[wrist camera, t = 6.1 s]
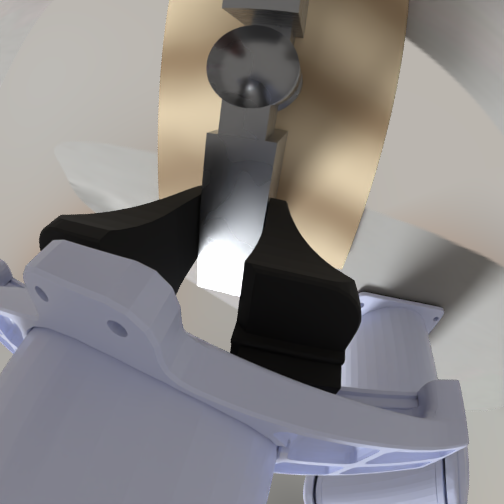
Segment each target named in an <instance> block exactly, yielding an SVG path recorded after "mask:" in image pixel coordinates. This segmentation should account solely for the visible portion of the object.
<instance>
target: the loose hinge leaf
mask: <svg viewBox="0 0 504 504" xmlns="http://www.w3.org/2000/svg"><path fill="white" fill-rule="evenodd" d="M206 71H207V77H208V80H209V83H210V85H211V87H212V89H213V90H214V91H215V93H216V94H217V95H218V96H219V97H220V98H222V103H221V111H220V120H219V128H218V130H214V131H211V132H208V133H207V134H206V144H205V155H204V166H203V179H202V192H201V207H200V225H199V246H198V275H197V286H200V287H204V288H208V289H212V290H216V291H220V292H224V293H228V294H232V295H236V296H240V292H241V285H242V277H243V269H244V262H245V260H246V259H247V258H248V256H249V255H250V254H251V252H252V251H253V249H254V248H255V246H256V244H257V243H258V241H259V238H260V236H261V234H262V232H263V230H264V227H265V223H266V217H267V211H268V205H269V201H270V199H271V198H275V199H276V196H277V191H278V185H279V180H280V174H281V169H282V163H283V157H284V152H285V146H286V140H287V135H288V131H286V130H281V129H275V124H276V118H277V112H278V106H279V105H281V104H283V103H285V102H286V101H287V100H289V99H290V98H291V97H292V96H293V95H294V94H295V92H296V91H297V89H298V87H299V85H300V81H301V68H300V63H299V58H298V54H297V52H296V49H295V48H294V46H293V44H292V43H291V42H290V40H289V39H288V38H287V37H286V36H284V35H283V34H282V33H280V32H278V31H277V30H275V29H272V28H269V27H266V26H260V25H248V26H242V27H239V28H236V29H233V30H231V31H229V32H227V33H226V34H224V35H223V36H222V37H221V38H220V39H219V40H218V41H217V42H216V43H215V44H214V46H213V47H212V49H211V51H210V53H209V55H208V59H207V65H206Z"/></svg>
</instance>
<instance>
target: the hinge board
mask: <svg viewBox="0 0 504 504" xmlns="http://www.w3.org/2000/svg"><path fill="white" fill-rule="evenodd" d="M222 3H223V0H169V5H168V11H167V18H166V26H165V34H164V42H163V52H162V62H161V75H160V90H159V114H158V185H159V200H160V199H163V198H166V197H168V196H171V195H174V194H177V193H179V192H182V191H185V190H188V189H190V188H193V187H196V186H200V185H202V179H203V166H204V155H205V144H206V134H207V133H208V132H211V131H214V130H218V128H219V120H220V111H221V103H222V98H220V97H219V96H218V95H217V94H216V93H215V91H214V90H213V89H212V87H211V85H210V83H209V80H208V77H207V71H206V65H207V59H208V55H209V53H210V51H211V49H212V47H213V46H214V44H215V43H216V42H217V41H218V40H219V39H220V38H221V37H222V36H223V35H224V34H226V33H227V32H229V31H231V30H233V29H236V28H239V27H242V26H245V25H244V24H243V23H241V22H240V21H239V20H237V19H236V18H235V17H233V16H232V15H231V14H229V13H228V12H227V11H225V10H224V9H222ZM408 5H409V0H309V6H308V13H307V19H306V26H305V33H304V38H299V37H295V42H294V48H295V49H296V52H297V54H298V58H299V63H300V68H301V72H302V76H303V87H302V90H301V93H300V94H299V96H298V97H297V99H296V100H295V101H294V102H292V103H291V104H290V105H289V106H287V107H286V108H284V109H282V110H280V111H278V112H277V118H276V124H275V129H281V130H286V131H288V135H287V140H286V146H285V152H284V157H283V163H282V169H281V174H280V180H279V185H278V191H277V196H276V199H280V200H285V201H286V202H287V203H288V208H289V211H290V214H291V216H292V218H293V221H294V223H295V225H296V227H297V229H298V230H299V232H300V234H301V235H302V237H303V238H304V239H305V241H306V242H307V243H308V244H309V246H310V247H311V248H312V249H313V250H314V251H315V252H316V253H317V254H318V255H319V256H320V257H321V258H323V259H324V260H325V261H326V262H327V263H329V264H330V265H331V266H333V267H334V268H337V269H342V268H343V266H344V263H345V261H346V258H347V255H348V253H349V250H350V247H351V245H352V242H353V239H354V237H355V234H356V231H357V228H358V225H359V223H360V220H361V217H362V214H363V211H364V208H365V205H366V202H367V199H368V195H369V192H370V189H371V186H372V183H373V179H374V176H375V173H376V169H377V166H378V162H379V159H380V155H381V152H382V148H383V144H384V140H385V136H386V132H387V129H388V125H389V120H390V116H391V112H392V107H393V103H394V98H395V93H396V88H397V83H398V78H399V73H400V66H401V61H402V55H403V48H404V41H405V34H406V25H407V16H408Z"/></svg>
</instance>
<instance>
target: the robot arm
mask: <svg viewBox="0 0 504 504" xmlns="http://www.w3.org/2000/svg"><path fill="white" fill-rule="evenodd" d="M201 192H202V185H200V186H196V187H193V188H190V189H188V190H185V191H182V192H179V193H177V194H174V195H171V196H168V197H166V198H163V199H160V200H157V201H154V202H151V203H147V204H144V205H140V206H136V207H132V208H127V209H122V210H116V211H111V212H103V213H94V214H77V215H60V216H59V217H58V218H56V219H55V220H54V221H52V222H51V223H50V224H49V225H47V226H46V227H45V228H44V229H43V230H42V231H41V234H40V238H39V243H40V250H41V252H40V253H39V254H38V255H37V256H35V257H34V258H33V259H32V260H31V261H30V262H29V263H28V264H27V265H26V267H25V270H24V273H23V279H24V282H25V284H23V283H22V282H20V281H18V280H16V279H15V278H13V277H12V273H11V271H10V269H9V267H8V265H7V264H6V263H5V262H4V261H3V260H1V259H0V342H1V343H2V344H3V345H4V346H5V347H6V348H7V349H8V350H9V351H10V352H11V353H13V356H12V357H11V358H10V360H9V362H8V363H7V365H6V366H5V368H4V369H3V371H2V372H1V374H0V504H266V503H267V499H268V495H269V491H270V486H271V482H272V477H273V473H281V474H294V475H306V477H305V481H304V488H303V498H304V504H467V497H468V490H469V459H468V448H467V446H468V444H469V438H468V429H467V421H466V415H465V409H464V403H463V397H462V392H461V387H460V383H459V380H440V379H438V377H437V372H436V367H435V362H434V358H433V353H432V349H431V345H430V341H429V337H428V335H429V333H430V332H431V331H432V329H433V328H434V327H435V326H436V324H437V323H438V322H439V320H440V319H441V318H442V316H443V315H444V310H443V308H442V307H437V306H432V305H427V304H422V303H417V302H412V301H407V300H402V299H397V298H392V297H387V296H382V295H377V294H372V293H368V292H360V293H359V294H358V291H357V288H356V284H355V281H354V280H353V279H351V278H350V277H348V276H346V275H345V274H343V273H342V272H340V271H338V270H337V269H335V268H334V267H333V266H331V265H330V264H329V263H327V262H326V261H325V260H324V259H323V258H321V257H320V256H319V255H318V254H317V253H316V252H315V251H314V250H313V249H312V248H311V247H310V246H309V244H308V243H307V242H306V241H305V239H304V238H303V237H302V235H301V234H300V232H299V230H298V229H297V227H296V225H295V223H294V221H293V218H292V216H291V214H290V211H289V208H288V203H287V202H286V201H285V200H280V199H275V198H271V199H270V201H269V205H268V211H267V217H266V223H265V227H264V230H263V232H262V234H261V236H260V238H259V241H258V243H257V244H256V246H255V248H254V249H253V251H252V252H251V254H250V255H249V256H248V258H247V259H246V260H245V262H244V269H243V277H242V285H241V292H240V300H239V308H238V316H237V322H236V325H235V329H234V331H233V335H232V338H231V351H230V353H229V352H227V351H225V350H223V349H221V348H218V347H216V346H214V345H212V344H210V343H208V342H206V341H204V340H202V339H200V338H198V337H196V336H194V335H192V334H190V333H188V332H186V331H185V330H184V328H183V324H182V318H181V308H180V304H179V302H178V300H177V297H176V293H177V292H178V289H179V287H180V285H181V283H182V282H183V280H184V278H185V276H186V275H187V273H188V272H189V270H190V268H191V267H192V265H193V264H194V262H195V261H196V259H197V257H198V246H199V225H200V207H201ZM360 303H362V304H360Z"/></svg>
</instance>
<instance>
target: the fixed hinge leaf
mask: <svg viewBox="0 0 504 504" xmlns="http://www.w3.org/2000/svg"><path fill="white" fill-rule="evenodd" d="M308 6H309V0H223V3H222V9H224V10H225V11H227V12H228V13H229V14H231V15H232V16H233V17H235V18H236V19H237V20H239V21H240V22H241V23H243V24H244V25H245V26H248V25H260V26H266V27H269V28H272V29H275V30H277V31H278V32H280V33H282V34H283V35H284V36H286V37H287V38H288V39H289V40H290V42H291V43H292V44H293V46H294V42H295V37H299V38H304V33H305V26H306V19H307V13H308ZM302 87H303V76H302V72H301V81H300V85H299V87H298V89H297V91H296V92H295V94H294V95H293V96H292V97H291V98H290V99H289V100H287V101H286V102H285V103H283V104H281V105H279V106H278V111H280V110H282V109H284V108H286V107H287V106H289V105H290V104H291V103H292V102H294V101H295V100H296V99H297V97H298V96H299V94H300V93H301V90H302Z"/></svg>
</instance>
